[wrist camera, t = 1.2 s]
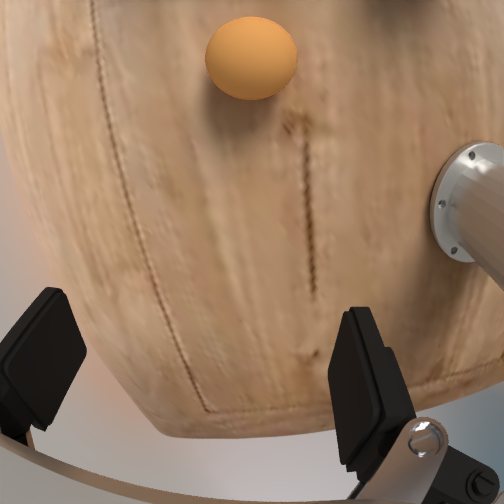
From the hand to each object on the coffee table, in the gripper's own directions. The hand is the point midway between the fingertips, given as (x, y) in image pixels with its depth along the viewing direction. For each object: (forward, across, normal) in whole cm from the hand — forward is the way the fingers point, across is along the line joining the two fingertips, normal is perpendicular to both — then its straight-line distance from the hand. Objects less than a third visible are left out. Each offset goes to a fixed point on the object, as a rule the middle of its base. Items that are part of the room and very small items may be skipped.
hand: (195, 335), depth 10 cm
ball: (+14, -1, -10) cm, 17 cm away
